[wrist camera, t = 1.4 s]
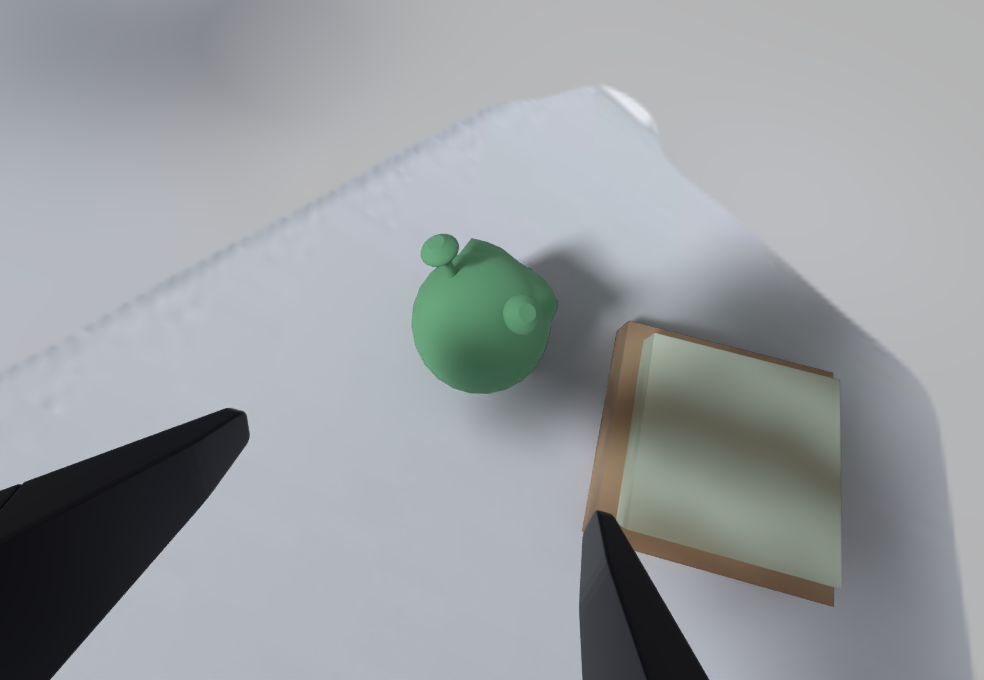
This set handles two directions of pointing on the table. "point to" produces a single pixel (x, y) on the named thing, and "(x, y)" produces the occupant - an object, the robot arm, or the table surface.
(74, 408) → the table surface
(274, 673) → the table surface
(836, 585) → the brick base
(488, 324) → the alien toy
